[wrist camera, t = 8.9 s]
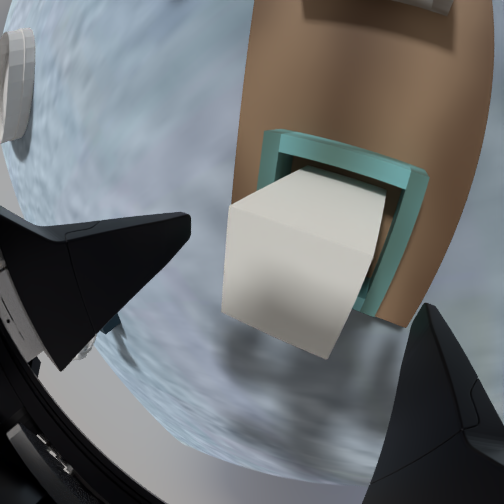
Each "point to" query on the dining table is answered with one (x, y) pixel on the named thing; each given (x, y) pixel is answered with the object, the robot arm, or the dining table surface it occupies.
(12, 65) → the dish
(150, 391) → the dining table surface
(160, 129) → the dining table surface
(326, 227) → the plug
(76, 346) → the robot arm
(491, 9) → the socket board
